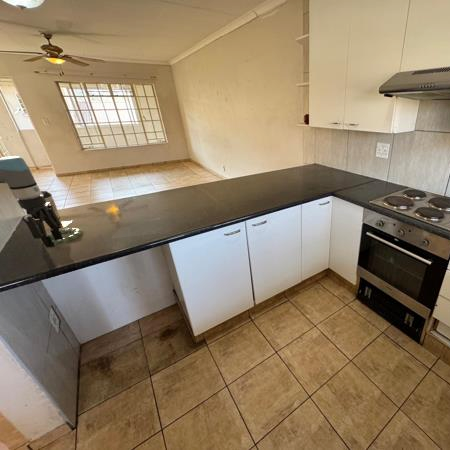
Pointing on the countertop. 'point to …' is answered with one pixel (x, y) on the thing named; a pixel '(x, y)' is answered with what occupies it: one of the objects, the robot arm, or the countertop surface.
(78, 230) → the hang ring
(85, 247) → the countertop surface
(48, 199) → the coffee cup
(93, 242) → the countertop surface
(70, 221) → the stand
